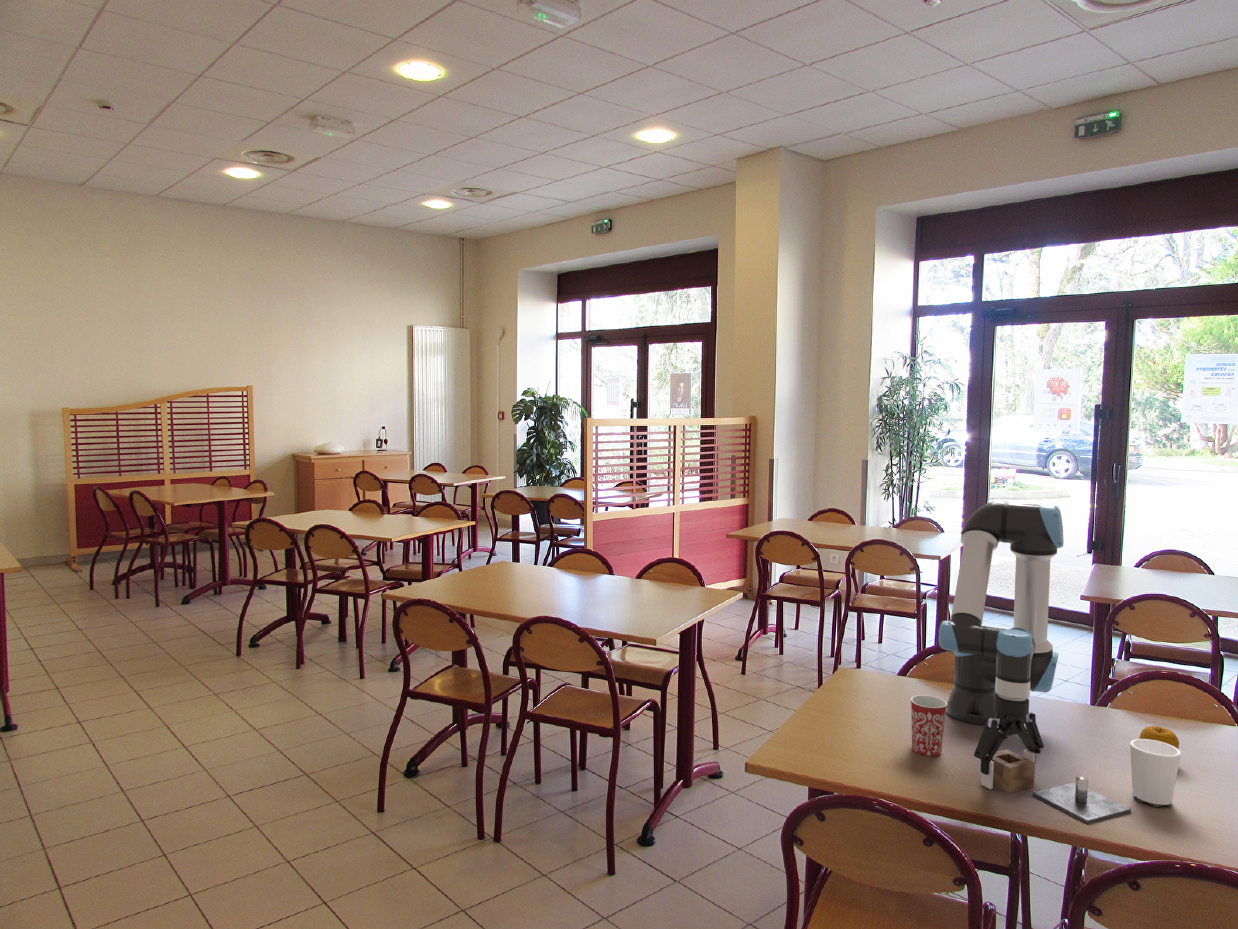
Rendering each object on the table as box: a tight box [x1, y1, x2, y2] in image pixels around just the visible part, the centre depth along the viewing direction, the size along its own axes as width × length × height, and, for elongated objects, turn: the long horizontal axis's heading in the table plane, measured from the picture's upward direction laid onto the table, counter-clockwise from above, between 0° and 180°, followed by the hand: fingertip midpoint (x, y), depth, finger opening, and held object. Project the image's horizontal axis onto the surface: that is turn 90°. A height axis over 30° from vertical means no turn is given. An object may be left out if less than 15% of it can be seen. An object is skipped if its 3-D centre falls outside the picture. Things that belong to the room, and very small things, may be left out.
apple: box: [1138, 725, 1180, 750], centre depth 209 cm, size 8×8×9 cm
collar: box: [987, 749, 1036, 794], centre depth 196 cm, size 8×8×6 cm
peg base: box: [1032, 775, 1132, 825], centre depth 186 cm, size 14×14×6 cm
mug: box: [910, 694, 948, 757], centre depth 215 cm, size 13×9×14 cm
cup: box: [1129, 738, 1182, 808], centre depth 188 cm, size 10×10×13 cm
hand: (1007, 782), depth 196 cm, fingers open, 13 cm apart
